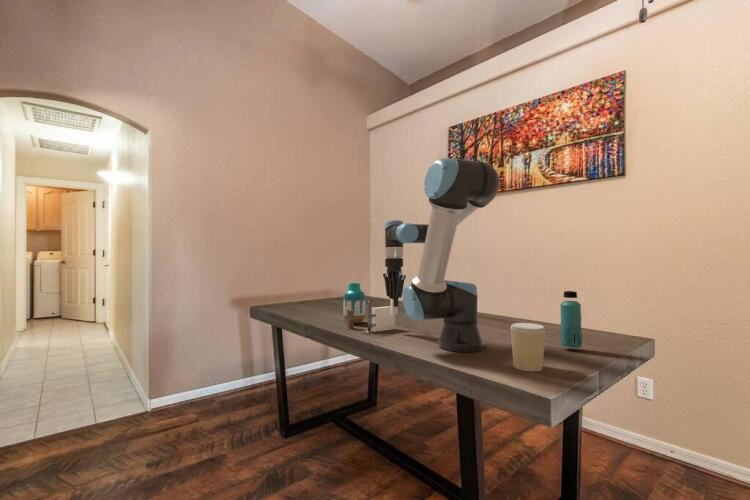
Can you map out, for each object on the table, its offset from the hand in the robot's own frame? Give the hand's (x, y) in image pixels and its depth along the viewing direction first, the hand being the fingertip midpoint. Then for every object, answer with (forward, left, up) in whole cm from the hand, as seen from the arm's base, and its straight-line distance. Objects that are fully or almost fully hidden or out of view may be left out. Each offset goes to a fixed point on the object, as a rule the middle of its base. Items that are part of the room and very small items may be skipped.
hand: (394, 314), depth 151 cm
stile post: (+19, +10, -8) cm, 23 cm away
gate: (+7, +1, -7) cm, 10 cm away
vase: (+28, +3, -8) cm, 29 cm away
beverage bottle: (-55, -34, -8) cm, 66 cm away
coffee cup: (-58, -5, -8) cm, 59 cm away
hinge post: (+7, +8, -8) cm, 13 cm away
